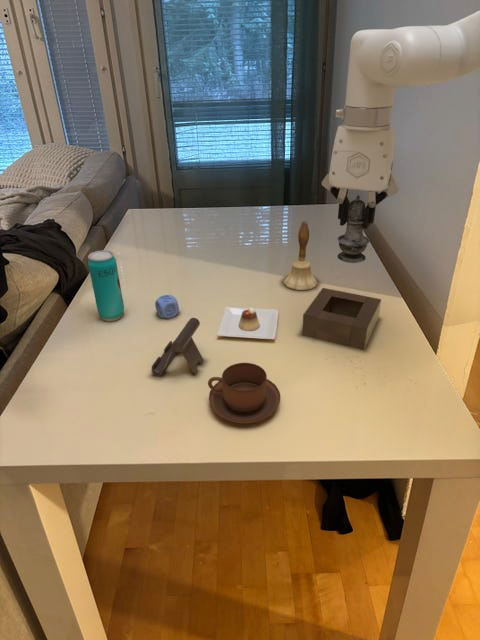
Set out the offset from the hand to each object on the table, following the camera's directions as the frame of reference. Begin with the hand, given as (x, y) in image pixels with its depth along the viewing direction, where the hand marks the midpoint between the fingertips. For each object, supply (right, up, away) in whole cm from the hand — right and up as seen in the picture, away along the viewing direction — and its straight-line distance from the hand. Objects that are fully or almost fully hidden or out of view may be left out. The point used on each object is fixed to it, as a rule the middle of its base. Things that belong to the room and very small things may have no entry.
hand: (355, 223), depth 86 cm
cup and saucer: (-20, -32, -7) cm, 39 cm away
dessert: (-19, -19, +15) cm, 31 cm away
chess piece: (0, -6, +3) cm, 7 cm away
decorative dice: (-38, -17, +20) cm, 46 cm away
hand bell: (-6, -9, +32) cm, 34 cm away
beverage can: (-50, -17, +19) cm, 56 cm away
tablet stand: (-33, -27, +3) cm, 42 cm away
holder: (0, -19, +14) cm, 24 cm away
